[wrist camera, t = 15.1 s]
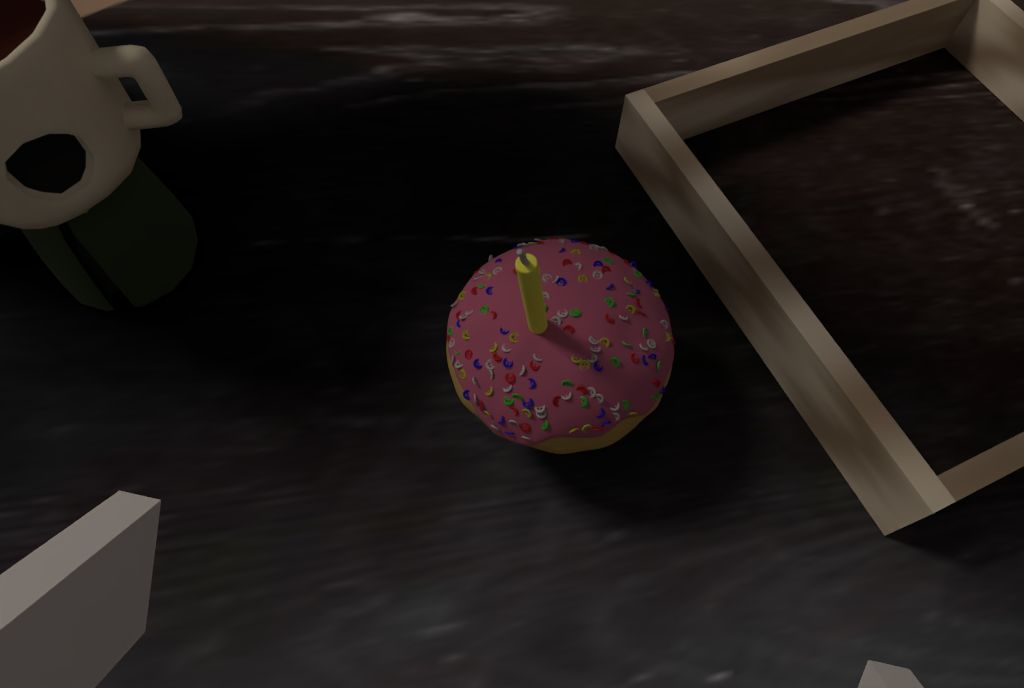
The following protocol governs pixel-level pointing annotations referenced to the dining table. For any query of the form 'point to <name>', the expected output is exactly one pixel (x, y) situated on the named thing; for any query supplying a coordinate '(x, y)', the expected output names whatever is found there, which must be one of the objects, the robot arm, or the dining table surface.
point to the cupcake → (560, 346)
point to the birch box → (753, 273)
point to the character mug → (86, 157)
